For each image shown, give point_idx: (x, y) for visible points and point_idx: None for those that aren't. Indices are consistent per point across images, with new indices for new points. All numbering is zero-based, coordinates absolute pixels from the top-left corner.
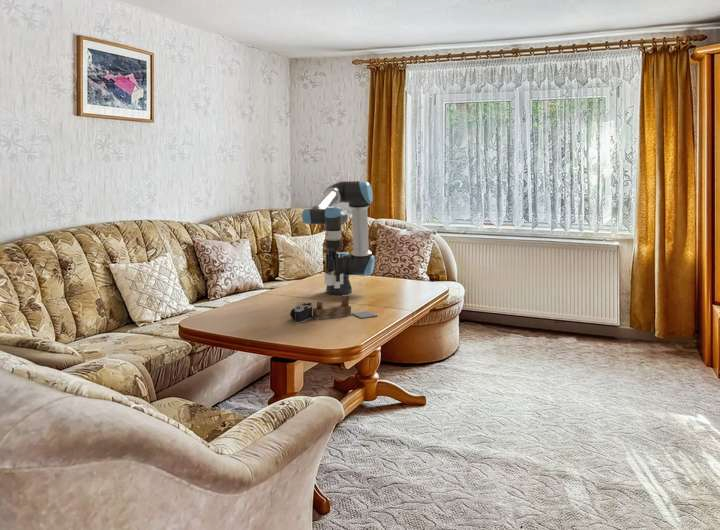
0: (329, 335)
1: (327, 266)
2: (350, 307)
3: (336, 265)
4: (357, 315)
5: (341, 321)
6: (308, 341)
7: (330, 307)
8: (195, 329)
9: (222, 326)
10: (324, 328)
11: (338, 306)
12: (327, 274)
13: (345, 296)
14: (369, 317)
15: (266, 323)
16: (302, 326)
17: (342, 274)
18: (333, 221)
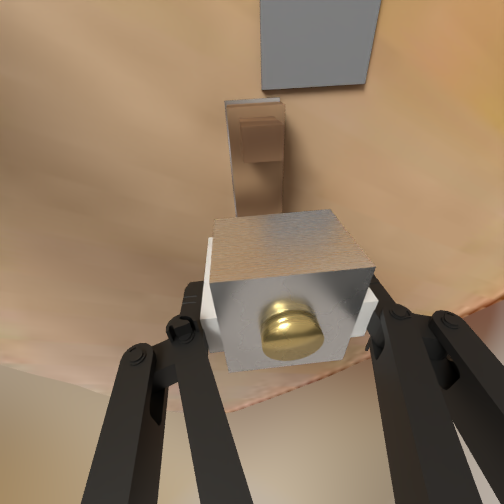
0: (441, 262)
1: (162, 411)
2: (284, 108)
3: (479, 450)
4: (322, 81)
5: (345, 185)
6: (437, 305)
7: (264, 213)
8: (245, 406)
9: (243, 387)
10: (379, 255)
11: (262, 174)
12: (292, 362)
13: (283, 149)
14: (375, 17)
15: None
16: None
17: (370, 270)
18: None
